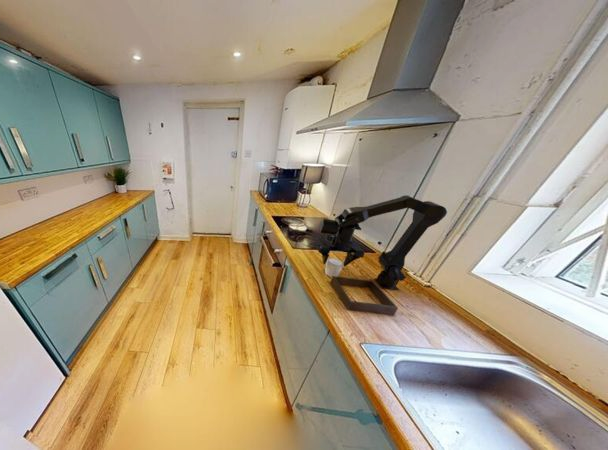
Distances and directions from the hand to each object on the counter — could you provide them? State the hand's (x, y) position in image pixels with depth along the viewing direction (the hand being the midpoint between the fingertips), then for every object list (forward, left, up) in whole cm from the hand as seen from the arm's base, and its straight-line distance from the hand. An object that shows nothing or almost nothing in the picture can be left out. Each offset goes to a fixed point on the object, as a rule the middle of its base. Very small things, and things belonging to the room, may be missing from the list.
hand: (333, 264), depth 94 cm
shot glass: (0, 0, -6) cm, 6 cm away
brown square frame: (-5, +15, -5) cm, 17 cm away
